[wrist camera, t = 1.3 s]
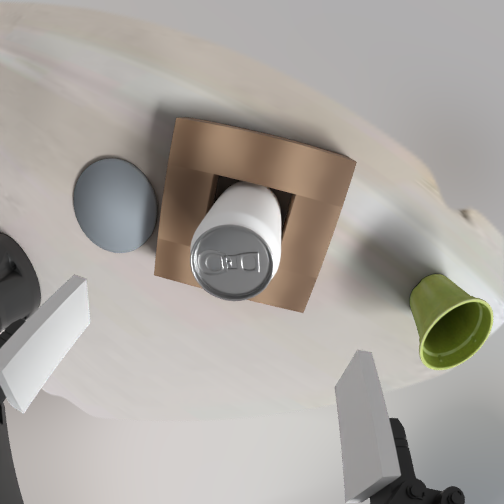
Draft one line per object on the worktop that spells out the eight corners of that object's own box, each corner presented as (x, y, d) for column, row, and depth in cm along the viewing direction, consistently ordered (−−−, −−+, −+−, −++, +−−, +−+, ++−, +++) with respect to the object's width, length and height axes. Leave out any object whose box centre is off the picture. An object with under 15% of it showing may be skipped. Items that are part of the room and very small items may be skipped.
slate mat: (76, 238, 34) (73, 240, 34) (79, 152, 30) (76, 153, 29) (152, 260, 35) (150, 263, 34) (164, 167, 30) (162, 168, 29)
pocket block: (164, 260, 34) (154, 275, 31) (187, 117, 28) (176, 117, 24) (301, 294, 35) (303, 312, 31) (348, 156, 28) (356, 162, 25)
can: (214, 181, 30) (176, 220, 19) (280, 178, 29) (279, 216, 19) (220, 241, 33) (191, 305, 22) (281, 240, 32) (281, 306, 21)
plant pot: (396, 268, 32) (424, 313, 24) (463, 253, 31) (500, 290, 23) (395, 331, 36) (415, 378, 28) (456, 315, 34) (483, 356, 26)
